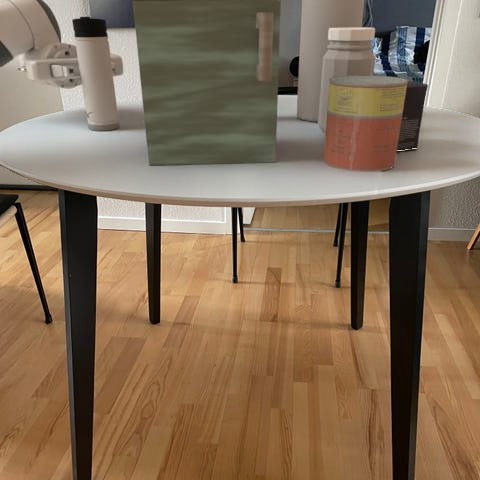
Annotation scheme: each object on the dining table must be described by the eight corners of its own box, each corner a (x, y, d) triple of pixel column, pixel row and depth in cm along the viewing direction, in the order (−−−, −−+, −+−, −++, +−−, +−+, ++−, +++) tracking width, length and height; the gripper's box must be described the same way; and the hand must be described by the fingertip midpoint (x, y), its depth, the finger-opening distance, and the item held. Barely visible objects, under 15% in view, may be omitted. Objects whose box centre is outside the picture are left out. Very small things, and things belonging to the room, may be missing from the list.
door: (280, 171, 75) (286, -1, 63) (146, 174, 73) (127, 0, 62) (274, 160, 80) (279, 0, 69) (149, 163, 79) (133, 1, 67)
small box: (353, 141, 93) (359, 78, 87) (382, 138, 95) (391, 77, 89) (386, 153, 84) (396, 85, 79) (418, 150, 86) (430, 83, 81)
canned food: (378, 153, 85) (389, 74, 78) (407, 170, 75) (422, 83, 69) (314, 155, 83) (320, 76, 77) (334, 174, 74) (343, 85, 67)
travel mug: (85, 131, 101) (67, 16, 91) (92, 125, 107) (75, 16, 96) (116, 131, 102) (101, 16, 91) (121, 125, 107) (108, 16, 97)
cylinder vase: (335, 125, 106) (348, -17, 93) (285, 119, 112) (291, -15, 99) (361, 116, 114) (376, -15, 101) (313, 111, 121) (322, -13, 107)
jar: (309, 128, 103) (316, 27, 94) (351, 125, 106) (362, 27, 96) (330, 137, 95) (340, 28, 86) (375, 134, 98) (389, 28, 88)
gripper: (10, 51, 101) (38, 54, 92) (102, 47, 112) (134, 50, 103) (18, 85, 104) (45, 92, 95) (106, 78, 115) (138, 83, 107)
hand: (92, 70), depth 99 cm, fingers open, 8 cm apart
